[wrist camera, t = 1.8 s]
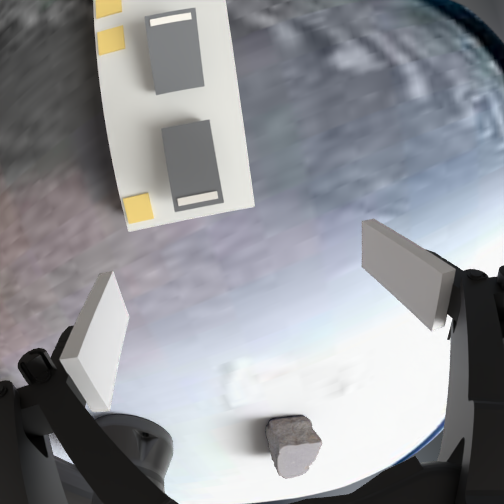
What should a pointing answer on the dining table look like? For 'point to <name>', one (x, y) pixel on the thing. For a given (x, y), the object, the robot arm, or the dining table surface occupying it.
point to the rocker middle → (174, 50)
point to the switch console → (167, 109)
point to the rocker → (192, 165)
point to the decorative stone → (292, 445)
